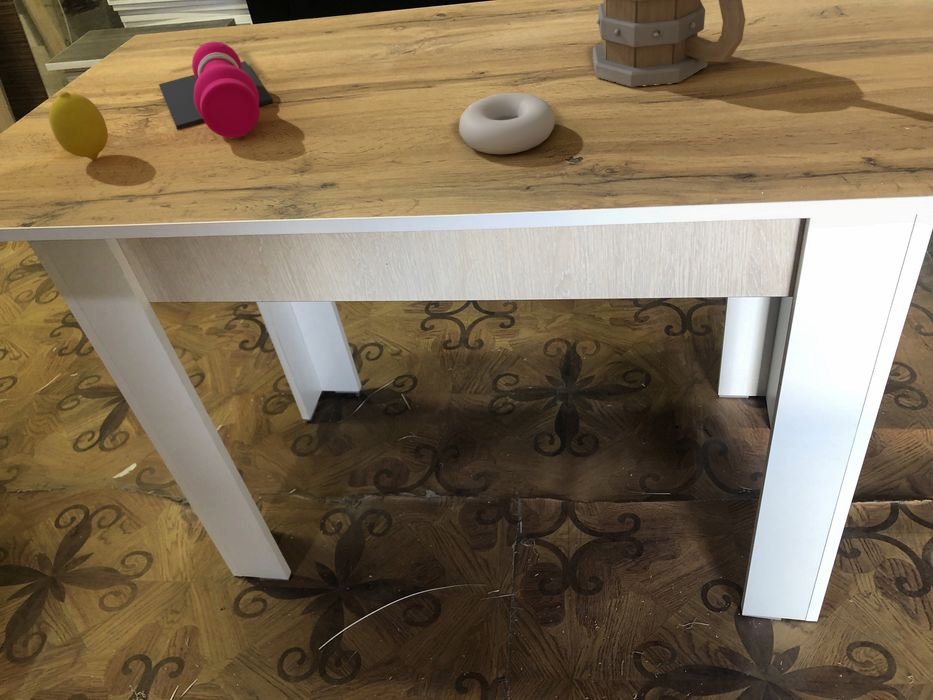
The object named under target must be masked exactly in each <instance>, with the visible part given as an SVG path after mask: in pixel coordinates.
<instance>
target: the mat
mask: <svg viewBox="0 0 933 700" xmlns="http://www.w3.org/2000/svg"><path fill="white" fill-rule="evenodd" d="M241 66H242V70H243V71H244V72H245V73H247V74H248V75H249V77H250V78H251V79H252V81H253V82H254V84H255V85H256V88H257V90H258V94H259V107H262V106H265V105H270V104H273V103H274V99H273V98H272V96H271V94H270V93H269V92H268V90H267V89H266V88H265V87H264V85H263V84H262V82H261V81H260V80H259V78H258V76H256V74H255V73H254V71H253V70H252V68H251V67H250V65H249V64H248V62H247V61H246V60H244V61H241ZM196 81H197V79H196V77H195V75H194V74H192V75H187V76H183V77H180V78H177V79H173V80H169V81H166V82H161V83H158V86H159V88H160V91H161V94H162V96H163V98H164V102H165V103H166V106H167V108H168V111H169V113H170V116H171V118H172V120H173V123H174V126H175V127H176V130H181V129H184V128H187V127H192V126H195V125H198V124H202V123H205V121H204V120H203V118H202V116H201V115H200V114H199V112H198V110H197V108H196V106H195V102H194V87H195V83H196Z"/></svg>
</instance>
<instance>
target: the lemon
mask: <svg viewBox="0 0 933 700" xmlns="http://www.w3.org/2000/svg"><path fill="white" fill-rule="evenodd" d="M48 121H49V125H50V128H51V131H52V134H53V136H54V137H55V140H56V142H58V144H59V145H60V146H61V147H62V148H63V149H64V150H65V151H66V152H67V153H70V154H71V155H73V156H76V157H81V158H87V159H89V160H92V161H93V160H96V159H97V158H98V156H99V153H100V152H102V151H103V150H104V149H105V147H106V145H107V143H108V139H109V132H108V128H107V122H106V120H105V118H104V116H103V114H102V113H101V111H100V110H99V108H98V107H97V105H95V103H93V102H92V101H91V100H90V99H89V98H87V97H86V96H84V95H82V94H78V93H72V92H70V93H69V92H67V91H62V92H60V93H59V95H58V96H57V97H56V98H55V99H54V100H53V101H52V103H51V104H50V107H49V110H48Z"/></svg>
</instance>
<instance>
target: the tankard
mask: <svg viewBox="0 0 933 700" xmlns="http://www.w3.org/2000/svg"><path fill="white" fill-rule="evenodd" d="M718 5H719V9H720V15H721V19H722V25H721V33H720V36H719V38H718V40H717V41H711V40H709V39H706V38H703V37H701V36H699V35H698V33H700V32H702V31H703V30H704V29H705V20H706V8H705V6H704V5H703V3H702V1H701V0H603V2H602V3H600V4H599V5H597V7H598V12H597V15H598V16H597V17H598V18H596V24H597V25H598V28H599V29H598V30H599V34H600V38H601V40H602V42H601V43H599V44H597V45H595V46H593V48H592V62H593V69H594V75H595V77H596V78H597V77H598V78H597V79H600V78H601V80H604V79H605V80H604V81H607V80H608V81H607V82H611V81H612V82H611V83H614V82H616V83H615V84H618V83H619V84H618V85H621V84H623V85H622V86H625V85H626V86H625V87H628V86H630V87H629V88H635V87H634V86H643V85H654V84H667V85H669V84H668V83H677V82H679V83H681V82H683V81H684V79H685V78H686V79H688V78H690V77H692V76H694V75H695V74H694V73H696V72H697V73H699V72H700V71H699V70H701V69H703V68H705V67H706V68H707V67H708V63H722V64H723V63H726V62H728V61H729V60H730V59H731V58H732V56H733V55H734V54H735V52H736V50H737V49H738V47H739V46H740V44H741V43H742V41H743V37H744V31H745V25H746V15H745V9H744V4H743V0H718ZM706 68H705V69H706ZM703 70H704V69H703ZM698 71H699V72H698ZM701 71H702V70H701ZM697 73H696V74H697ZM693 74H694V75H693ZM691 75H692V76H691ZM689 76H690V77H689ZM687 77H688V78H687ZM686 79H685V80H686ZM682 80H683V81H682ZM680 81H681V82H680ZM677 84H678V83H677Z"/></svg>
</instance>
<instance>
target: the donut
mask: <svg viewBox="0 0 933 700" xmlns="http://www.w3.org/2000/svg"><path fill="white" fill-rule="evenodd" d="M555 123H556V120H555V112H554V109H553V108H552V106H551V105H550V104H549V103H548V102H547V101H546V100H545V99H544V98H542V97H539V96H537V95H535V94H530V93H525V92H502V93H496V94H491V95H488V96H485V97H483V98H481V99H478V100H476V101H474V102H473V103H471V104H469V106H467V107H466V109H465V110H464V111H463V113H462V114H461V116H460V118H459V125H458V132H459V135H460V136H461V138H462V140H463V141H464V143H465V144H466V145H467V146H468V147H470V148H472V149H474V150H475V151H476V152H481V153H485V154H488V155H510V154H512V155H513V154H517V153H522V152H525V151H529V150H531V149H533V148H535V147H538V146H539V145H541V144H542V143H543V142H544V141H546V140H547V139H548V138H549V136H550V135H551V133H552V132H553V129H554V128H555Z"/></svg>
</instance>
